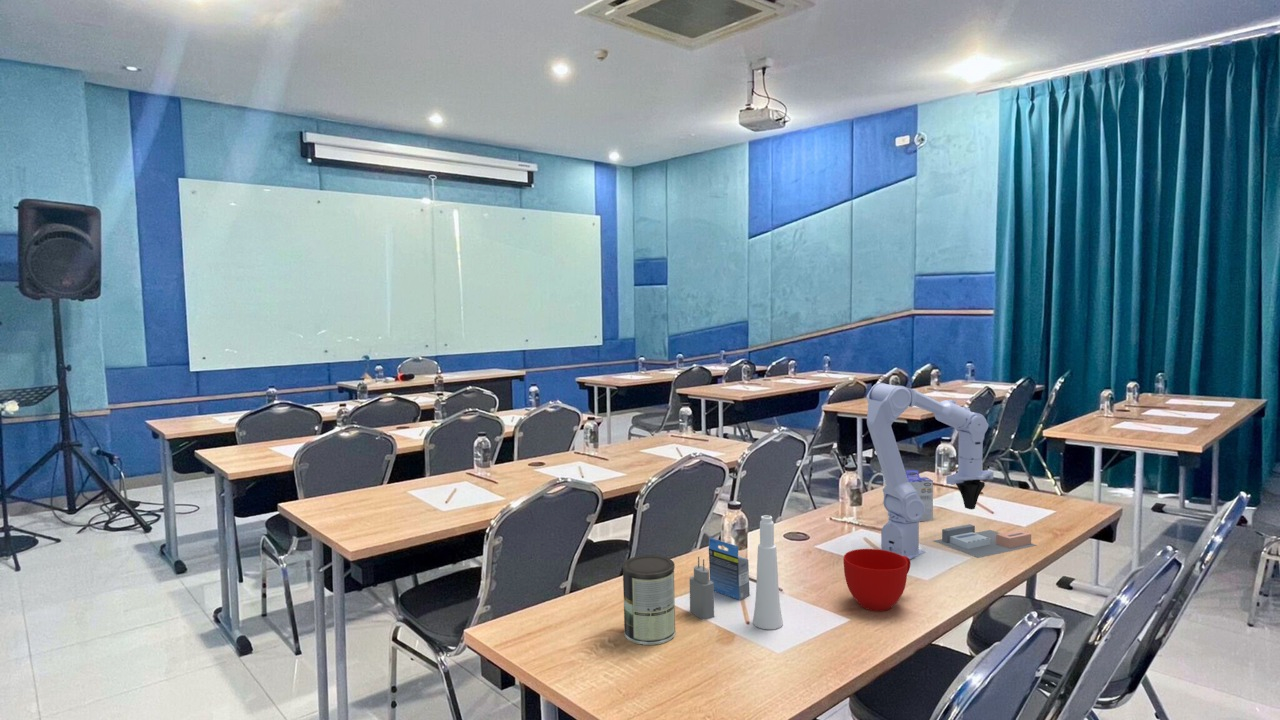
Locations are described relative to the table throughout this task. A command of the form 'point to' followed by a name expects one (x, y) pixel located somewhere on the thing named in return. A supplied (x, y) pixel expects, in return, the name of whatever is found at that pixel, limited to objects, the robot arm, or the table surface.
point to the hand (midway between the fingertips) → (969, 508)
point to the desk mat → (986, 549)
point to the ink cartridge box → (923, 492)
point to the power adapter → (701, 593)
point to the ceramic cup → (876, 577)
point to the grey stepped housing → (964, 537)
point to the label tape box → (728, 570)
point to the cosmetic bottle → (767, 580)
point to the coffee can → (649, 599)
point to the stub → (1013, 539)
